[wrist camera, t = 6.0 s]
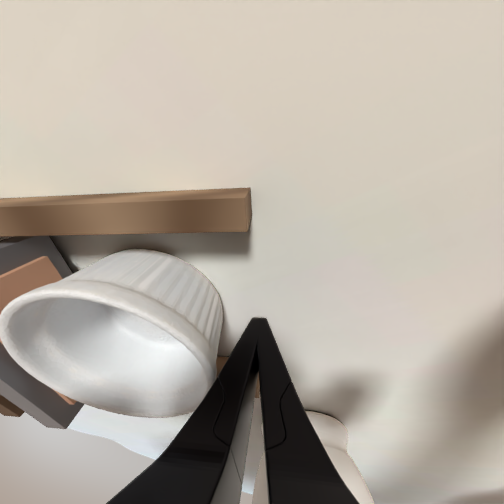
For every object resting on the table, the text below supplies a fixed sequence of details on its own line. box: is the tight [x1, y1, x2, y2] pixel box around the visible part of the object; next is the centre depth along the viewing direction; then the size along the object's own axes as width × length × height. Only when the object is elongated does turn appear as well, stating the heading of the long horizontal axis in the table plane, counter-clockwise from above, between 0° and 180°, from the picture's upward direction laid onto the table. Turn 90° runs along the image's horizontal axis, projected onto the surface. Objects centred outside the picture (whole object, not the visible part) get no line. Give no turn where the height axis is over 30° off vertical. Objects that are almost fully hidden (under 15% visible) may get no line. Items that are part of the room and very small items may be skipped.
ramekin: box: [0, 249, 223, 418], centre depth 10 cm, size 9×9×4 cm
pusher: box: [0, 236, 84, 429], centre depth 10 cm, size 2×10×4 cm, turn 3°
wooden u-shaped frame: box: [0, 188, 260, 417], centre depth 10 cm, size 17×13×4 cm
